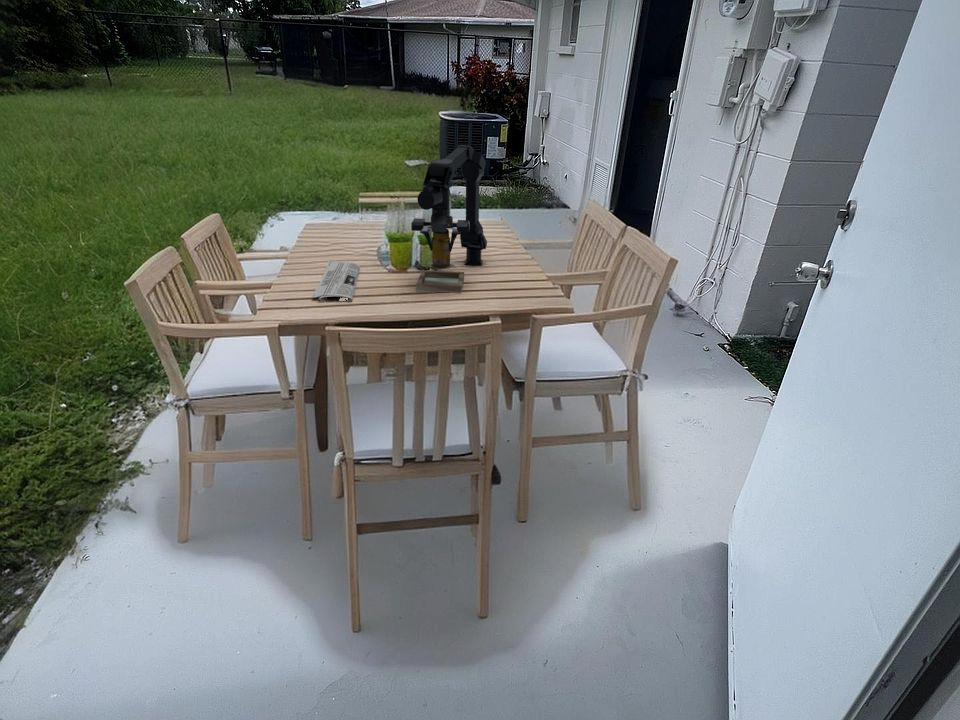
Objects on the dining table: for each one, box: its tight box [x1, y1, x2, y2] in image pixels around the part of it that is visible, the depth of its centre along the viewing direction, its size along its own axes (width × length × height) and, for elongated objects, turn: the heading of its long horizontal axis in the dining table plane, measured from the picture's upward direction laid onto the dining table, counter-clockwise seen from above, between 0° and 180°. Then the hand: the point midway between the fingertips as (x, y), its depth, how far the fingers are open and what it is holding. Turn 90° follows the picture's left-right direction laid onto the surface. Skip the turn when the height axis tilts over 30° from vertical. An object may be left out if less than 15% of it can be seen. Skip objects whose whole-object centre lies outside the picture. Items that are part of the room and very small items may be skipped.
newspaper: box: [311, 259, 361, 303], centre depth 193 cm, size 35×12×4 cm, turn 6°
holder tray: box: [415, 269, 465, 294], centre depth 194 cm, size 15×15×2 cm
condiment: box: [427, 228, 457, 271], centre depth 189 cm, size 7×8×12 cm
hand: (441, 251), depth 189 cm, fingers closed on condiment, 6 cm apart
